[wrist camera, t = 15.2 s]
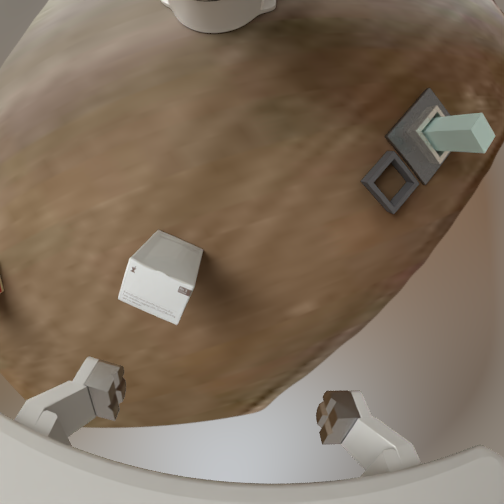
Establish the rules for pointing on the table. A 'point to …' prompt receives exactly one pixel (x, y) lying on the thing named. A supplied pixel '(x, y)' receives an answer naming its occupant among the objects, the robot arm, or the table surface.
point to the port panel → (419, 136)
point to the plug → (459, 133)
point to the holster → (403, 192)
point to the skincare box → (161, 276)
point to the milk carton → (1, 286)
